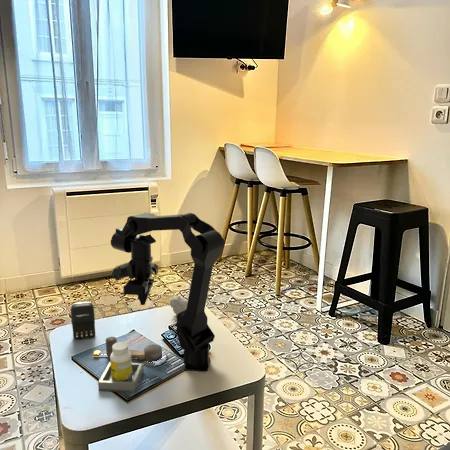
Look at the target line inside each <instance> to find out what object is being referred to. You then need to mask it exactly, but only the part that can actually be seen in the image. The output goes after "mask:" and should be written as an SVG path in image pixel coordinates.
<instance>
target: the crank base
mask: <svg viewBox="0 0 450 450" xmlns="http://www.w3.org/2000/svg"><path fill="white" fill-rule="evenodd" d="M100 354H101V350H94V351H93V354H92V355H93V356H99V355H100ZM101 355H102V354H101ZM136 360H138V361H139V363H140V362H141V363H143V364H144V365H143V366H145V365H146V366H145V367H150V366H153V367H155V366H154V365H155V363H154V364H153V362H152V361H148V362H147V360H146V359H143V358H139V359H138V358H137V359H136ZM149 362H150V363H149ZM151 362H152V363H151Z"/></svg>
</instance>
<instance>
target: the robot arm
mask: <svg viewBox="0 0 450 450" xmlns="http://www.w3.org/2000/svg"><path fill="white" fill-rule="evenodd" d="M125 222H126V223H125V224H124V226H123V227H116V228H115V231H114V233H113V234H112V236H111V239H110V246H111V247H112V248H113V249H115V250H117V251H121V252H124V253H128V254H130V255H131V256H130V257H131V258H130V260H129V261H127V262H125V263H122V264H119V265H116V266H114V268H113V269H112V270H111V278H112V279H113V278H114V279H115V281H120V280H121V279H125V278H127V277H128V279H129V280H128V281H127V282H126V283H125V285H124V286H123V288H122V290H123V294H124V295H132V296H137V297H138V301H139V303H140V305H141V306H145V305H146V302H147V300H148V298H149V294H150V293H151V289H152V287H153V285H154V282H155V279H154V278H151V277H152V275H153V273H154V276H155V275H158V273H159V266H158V265H157V263H153V261H154V257H153V256H152V249H151V248H152V245H151V244H155V243H157V240H156V239H155V238H154V237H153V235H151V234H146V233H151V232H153V231H177V230H179V231H180V232H181V234H182V237H183V240H184V243H185V244H186V245H187V246H188V247H189V248H190V256H191V260H192V262H193V271H192V276H191V281H190V282H191V283H190V287H189V293H188V298H187V301H188V303H187V308H186V310H184V311H182V312H180V313H178V315H176V323H175V325H174V326H175V327H176V334H177V338H178V341H179V345H180V349H182V350H183V365H184V370H185V371H197V372H208V371H209V367H210V362H211V357H210V344H211V343H212V342H214V340H215V338H216V336H215V334H214V332H213V330H212V329H211V328H210V326H209V324H208V315H207V314H206V311H205V309H206V304H207V299H208V293H209V288H210V283H211V278H212V273H213V268H214V265H215V264H216V262H217V261H218V260H219V259H220V256H221V254H222V252H223V249H224V246H225V238H224V237H223V236H222V234H221V233H220V232H219V231H217V230H216V229H215V228H214V227H213V226H212V225H211V224H209V223H208V222H206V221H204V220H202V219H200V217H198V215H197V214H195V213H193V212H187V213H183V214H181V213H180V214H170V215H168V214H167V215H157V214H154V213H150V212H143V213H138V214H134V215H129V216H128V217H127V219H126V221H125ZM192 230H193V231H195V232H197V233H199V234H197V235H196V234H194V233H193V231H192ZM144 234H146V235H144ZM133 279H134V280H133Z"/></svg>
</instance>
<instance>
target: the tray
mask: <svg viewBox="0 0 450 450" xmlns="http://www.w3.org/2000/svg"><path fill="white" fill-rule="evenodd" d="M142 372H143V373H144V365H143V363H140V362H132V374H133V375H132V379H131V380H130V381H129V382H124V381H112V377H111V363H110V361H109V362H108V364H107V366H106V367H105V370H104V371H103V373H102V374H101V377H100V378H99V379H98V381H97V383H98V384H97V385H98V388H97V389H98V392H111V393H112V392H113V393H114V392H115V393H117V392H118V391H119V392H118V393H133V392H134V393H135V392H136V390H137V388H138V385H139V383H140V380H141V378H140V377H142V376H141V375H143V373H142ZM139 379H140V380H139ZM138 382H139V383H138ZM136 387H137V388H136ZM122 391H123V392H122Z"/></svg>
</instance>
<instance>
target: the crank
mask: <svg viewBox="0 0 450 450" xmlns="http://www.w3.org/2000/svg"><path fill="white" fill-rule="evenodd" d="M117 342H118V340H117V337H116V336H109V337H106V338H105V348H106V350H105V351H106V355H107V357H109V358H108V359H110V355H111V353H112V346H113V344H115V343H117ZM128 350H129V351H130V352H131V357H132V358H143V359H146V360H147V361H157V360H159V359H161V358H162V351H163V348H162V346H161V345H160V344H155V343H154V344H149V345H146V346H145V347H144V349H141V350H140V349H128Z"/></svg>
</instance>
